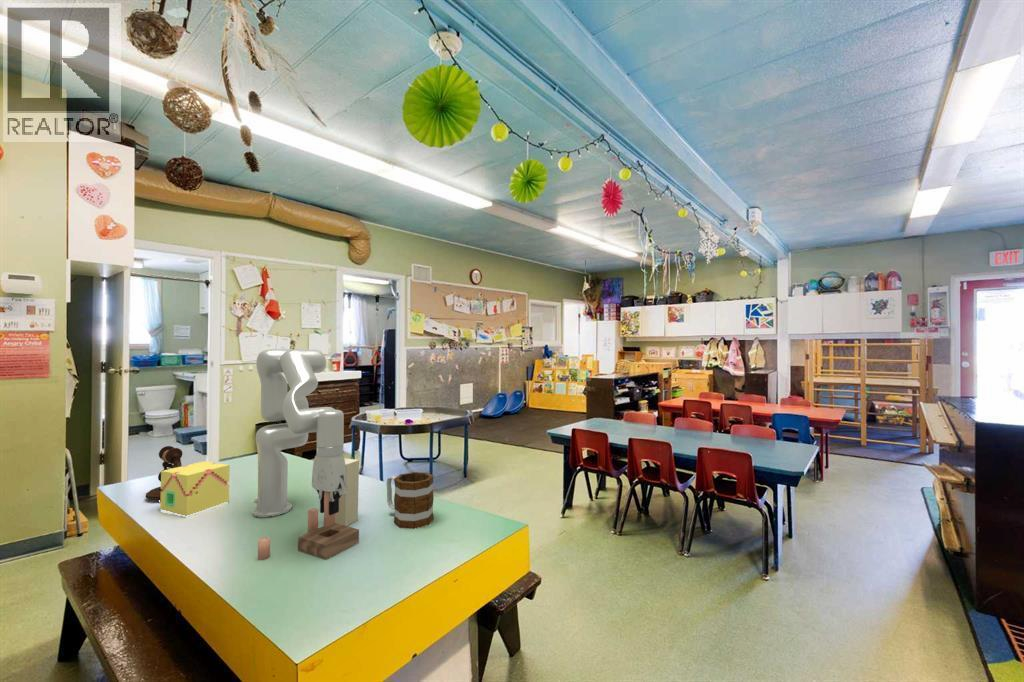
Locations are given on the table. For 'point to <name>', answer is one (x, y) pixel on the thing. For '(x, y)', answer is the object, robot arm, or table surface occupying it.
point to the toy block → (194, 487)
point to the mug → (411, 499)
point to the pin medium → (312, 519)
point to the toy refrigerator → (349, 495)
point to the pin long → (328, 519)
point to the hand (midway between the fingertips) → (329, 511)
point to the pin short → (263, 548)
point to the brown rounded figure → (168, 456)
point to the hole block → (328, 540)
